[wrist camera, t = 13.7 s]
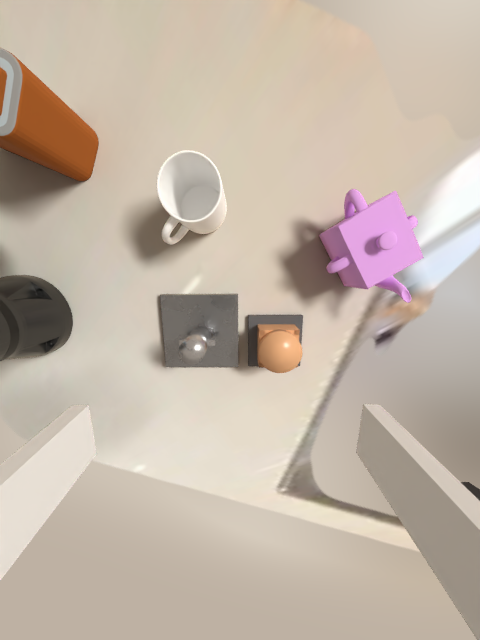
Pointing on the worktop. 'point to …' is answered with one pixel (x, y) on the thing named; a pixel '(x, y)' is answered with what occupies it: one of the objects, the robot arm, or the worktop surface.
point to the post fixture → (200, 330)
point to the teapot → (372, 243)
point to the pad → (268, 319)
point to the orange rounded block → (42, 123)
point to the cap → (278, 347)
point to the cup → (190, 195)
